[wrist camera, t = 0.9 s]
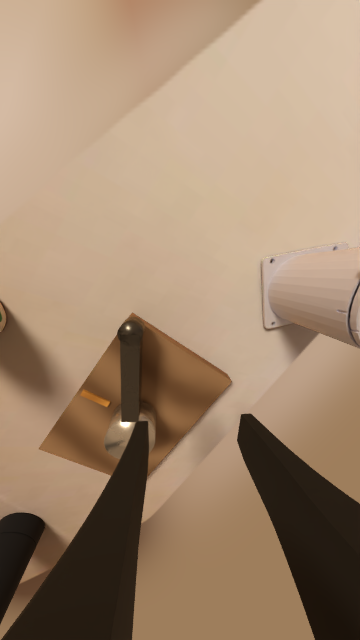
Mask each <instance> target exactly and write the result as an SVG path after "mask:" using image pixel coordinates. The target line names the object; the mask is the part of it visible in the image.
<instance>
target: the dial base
mask: <svg viewBox="0 0 360 640" xmlns="http://www.w3.org/2000/svg"><path fill="white" fill-rule="evenodd" d="M130 317H138V316H137V315H135V314H134V313H132V314H131V315H130V316H129V318H130ZM138 318H140V317H138ZM140 319H141V318H140ZM141 320H142V321H143V322H144V325H145V330H144V333H143V341H142V387H141V400H142V401H145V402H147V403H149V404H150V405H151V406H152V407H153V408H154V410H155V412H156V433H155V445H154V447H153V449H152V450H151V452H150V453H149V458H148V473H147V476H148V475H149V474H150V473H151V472H152V471H153V470H154V468H155V467H156V466H157V465H158V464H159V463H160V462H161V461H162V459H163V458H164V457H165V456H166V455H167V454H168V453H169V452H170V450H171V449H172V448H173V447H174V446H175V445H176V444H177V443H178V441H179V440H180V439H181V438H182V437H183V436H184V435H185V434H186V432H187V431H188V430H189V429H190V428H191V427H192V426H193V425H194V423H195V422H196V421H197V420H198V419H199V418H200V417H201V416H202V414H203V413H204V412H205V411H206V410H207V409H208V408H209V407H210V405H211V404H212V403H213V402H214V401H215V400H216V399H217V398H218V396H219V395H220V394H221V393H222V392H223V391H224V390H225V389H226V387H227V386H228V385H229V384H230V383H231V382H232V381H231V379H230V378H229V376H228V375H227V374H226V373H225V372H223V371H222V370H220V369H219V368H217V367H215V366H214V365H212V364H211V363H209V362H208V361H206V360H205V359H203V358H202V357H200V356H198V355H197V354H195V353H194V352H192V351H191V350H189V349H188V348H186V347H185V346H183V345H182V344H180V343H178V342H177V341H175V340H174V339H172V338H171V337H169V336H168V335H166V334H165V333H163V332H161V331H160V330H158V329H157V328H155V327H154V326H152V325H151V324H149V323H148V322H146V321H145V320H143V319H141ZM120 404H121V368H120V341H119V339H118V336H117V335H116V337H115V338H114V340H113V341H112V343H111V344H110V346H109V347H108V348H107V350H106V351H105V353H104V354H103V356H102V357H101V359H100V360H99V362H98V363H97V364H96V366H95V367H94V369H93V370H92V372H91V373H90V375H89V376H88V378H87V379H86V380H85V382H84V383H83V385H82V386H81V388H80V389H79V391H78V392H77V394H76V395H75V396H74V398H73V399H72V401H71V402H70V404H69V405H68V407H67V408H66V409H65V411H64V412H63V414H62V415H61V417H60V418H59V420H58V421H57V423H56V424H55V425H54V427H53V428H52V430H51V431H50V433H49V434H48V436H47V437H46V439H45V440H44V441H43V443H42V444H41V446H40V447H39V449H40V450H43V451H45V452H48V453H51V454H54V455H56V456H59V457H62V458H65V459H67V460H70V461H73V462H76V463H78V464H81V465H84V466H87V467H89V468H92V469H95V470H98V471H100V472H103V473H106V474H109V475H111V476H112V474H113V472H114V470H115V468H116V466H117V464H118V462H119V460H120V459H117V458H115V457H113V456H112V455H110V454H109V453H108V452H107V450H106V449H105V446H104V438H105V435H106V433H107V430H108V427H109V424H110V421H111V418H112V415H113V413H114V410H115V409H116V407H117V406H118V405H120Z"/></svg>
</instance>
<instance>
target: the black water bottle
mask: <svg viewBox="0 0 360 640" xmlns="http://www.w3.org/2000/svg"><path fill="white" fill-rule="evenodd" d="M43 531H44V523H43V521H42V520H41V519H40V518H39V517H37V516H35V515H32V514H27V513H15V514H10V515H8V516H6V517H4V518H2V519H1V520H0V624H1V621H2V619H3V617H4V615H5V613H6V610H7V608H8V606H9V604H10V602H11V600H12V598H13V596H14V593H15V591H16V589H17V587H18V585H19V583H20V580H21V578H22V576H23V574H24V572H25V570H26V567H27V565H28V563H29V561H30V559H31V557H32V554H33V552H34V550H35V548H36V546H37V544H38V541H39V539H40V537H41V535H42V533H43Z"/></svg>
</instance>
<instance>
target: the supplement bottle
mask: <svg viewBox="0 0 360 640" xmlns="http://www.w3.org/2000/svg"><path fill="white" fill-rule="evenodd" d="M5 324H6V314H5V311H4V309H3V307H2V305H1V303H0V332H1V331H2V330H3V328H4V327H5Z"/></svg>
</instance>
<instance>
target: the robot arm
mask: <svg viewBox="0 0 360 640" xmlns="http://www.w3.org/2000/svg"><path fill="white" fill-rule="evenodd" d="M333 248H334V251H333ZM271 259H272V263H270V260H271ZM261 271H262V298H263V325H264V327H265V328H267V329H270V328H275V327H280V326H284V325H289V324H294V323H296V324H298V325H301V326H303V327H306V328H308V329H311V330H314V331H316V332H319V333H321V334H324V335H326V336H329V337H332V338H334V339H337V340H339V341H342V342H344V343H347V344H350V345H352V346H355V347H358V348H360V247H359V248H351V249H348V243H346V242H343V243H337V244H332V245H327V246H322V247H316V248H311V249H306V250H301V251H296V252H290V253H285V254H280V255H275V256H269V257H265V258H263V259H262V261H261ZM272 322H274V323H273V325H271V323H272ZM237 441H238V444H239V447H240V450H241V453H242V456H243V459H244V461H245V464H246V466H247V468H248V470H249V472H250V475H251V477H252V479H253V481H254V483H255V486H256V488H257V490H258V492H259V494H260V496H261V499H262V501H263V503H264V505H265V507H266V509H267V511H268V514H269V516H270V518H271V521H272V523H273V526H274V528H275V531H276V533H277V536H278V538H279V541H280V544H281V545H282V549H283V551H284V554H285V557H286V559H287V562H288V565H289V567H290V570H291V573H292V576H293V578H294V581H295V583H296V587H297V589H298V592H299V595H300V598H301V600H302V603H303V606H304V609H305V612H306V615H307V618H308V621H309V623H310V626H311V629H312V632H313V634H314V638H315V640H360V504H359V503H358V502H356V501H355V500H354V499H352V498H351V497H349V496H348V495H346V494H345V493H344V492H342V491H341V490H340V489H338V488H337V487H336V486H334V485H333V484H332V483H330V482H329V481H328V480H326V479H325V478H324V477H322V476H321V475H320V474H318V473H317V472H316V471H315V470H313V469H312V468H311V467H310V466H309V465H307V464H306V463H305V462H304V461H303V460H301V459H300V458H299V457H298V456H297V455H295V454H294V453H293V452H292V451H291V450H290V449H288V448H287V447H286V446H285V445H284V444H283V443H282V442H281V441H280V440H278V439H277V438H276V437H275V436H274V435H273V434H272V433H271V432H270V431H269V430H268V429H267V428H266V427H265V426H263V425H262V424H261V423H260V422H259V421H258V420H257V419H256V418H255V417H254V416H253V415H252V414H241V419H240V426H239V432H238V439H237ZM148 458H149V430H148V421H137V422H136V423H135V426H134V429H133V432H132V434H131V437H130V439H129V441H128V444H127V446H126V448H125V450H124V452H123V454H122V456H121V458H120V460H119V462H118V464H117V466H116V468H115V470H114V472H113V474H112V476H111V478H110V479H109V481H108V483H107V485H106V487H105V489H104V490H103V492H102V494H101V496H100V497H99V499H98V501H97V502H96V504H95V506H94V507H93V509H92V510H91V512H90V514H89V515H88V517H87V519H86V520H85V522H84V523H83V525H82V526H81V528H80V529H79V531H78V533H77V534H76V536H75V537H74V539H73V540H72V542H71V543H70V545H69V546H68V548H67V549H66V551H65V552H64V554H63V555H62V557H61V558H60V559H59V561H58V562H57V564H56V565H55V567H54V568H53V569H52V571H51V572H50V574H49V575H48V576H47V578H46V579H45V581H44V582H43V584H42V585H41V586H40V588H39V589H38V591H37V592H36V593H35V595H34V596H33V598H32V599H31V600H30V602H29V603H28V605H27V606H26V607H25V609H24V610H23V611H22V613H21V614H20V615H19V617H18V618H17V619H16V621H15V622H14V623H13V625H12V626H11V627H10V629H9V630H8V631H7V633H6V634H5V635H4V636H3V638H2V639H1V640H132V630H133V614H134V601H135V586H136V571H137V559H138V544H139V535H140V527H141V520H142V512H143V504H144V497H145V489H146V481H147V473H148Z"/></svg>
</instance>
